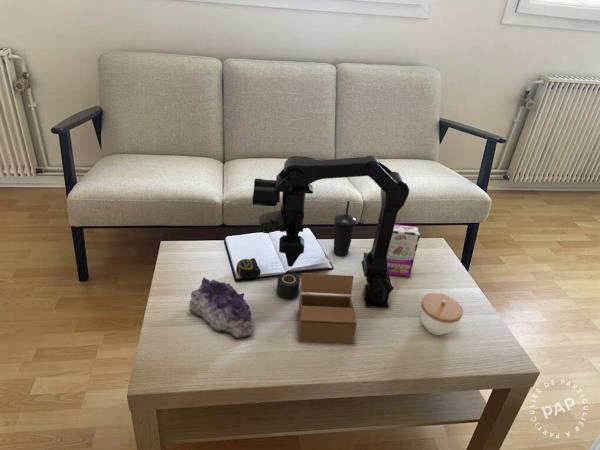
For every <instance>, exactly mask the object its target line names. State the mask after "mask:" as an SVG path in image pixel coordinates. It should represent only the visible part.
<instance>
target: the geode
mask: <svg viewBox="0 0 600 450" xmlns="http://www.w3.org/2000/svg"><path fill="white" fill-rule="evenodd" d="M244 297H245V293H244V292H242V293H239V292H238V291H237V290H236V289H235V288H234V287H233V285H231V283H230V282H229V283H226V282H220V281H217V280H216V279H212V280H209V279H207V278H206V277H203V278H202V279H201V284H200V286H199V287H198V289H195V290H193V291H191V293H190V300H189V303H188V305H189V312H190V313H191V314H193V315H195V316H197V317H199V318H202V319H203V321H204V322H205V323H206V324H208V325H209V326H210V327H211V328H212V329H213V330H214V331H215V332H226V333H229V334H230V335H231V336H232V337H233V338H234V339H236V340H242V339H247V338H249V337H251V336H252V333H253V332H252V331H253V326H254V324H253V322H252V318H253V317H252V311H251V308H250V306H249V305H248V303H247V301H246V300H245V298H244Z"/></svg>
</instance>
